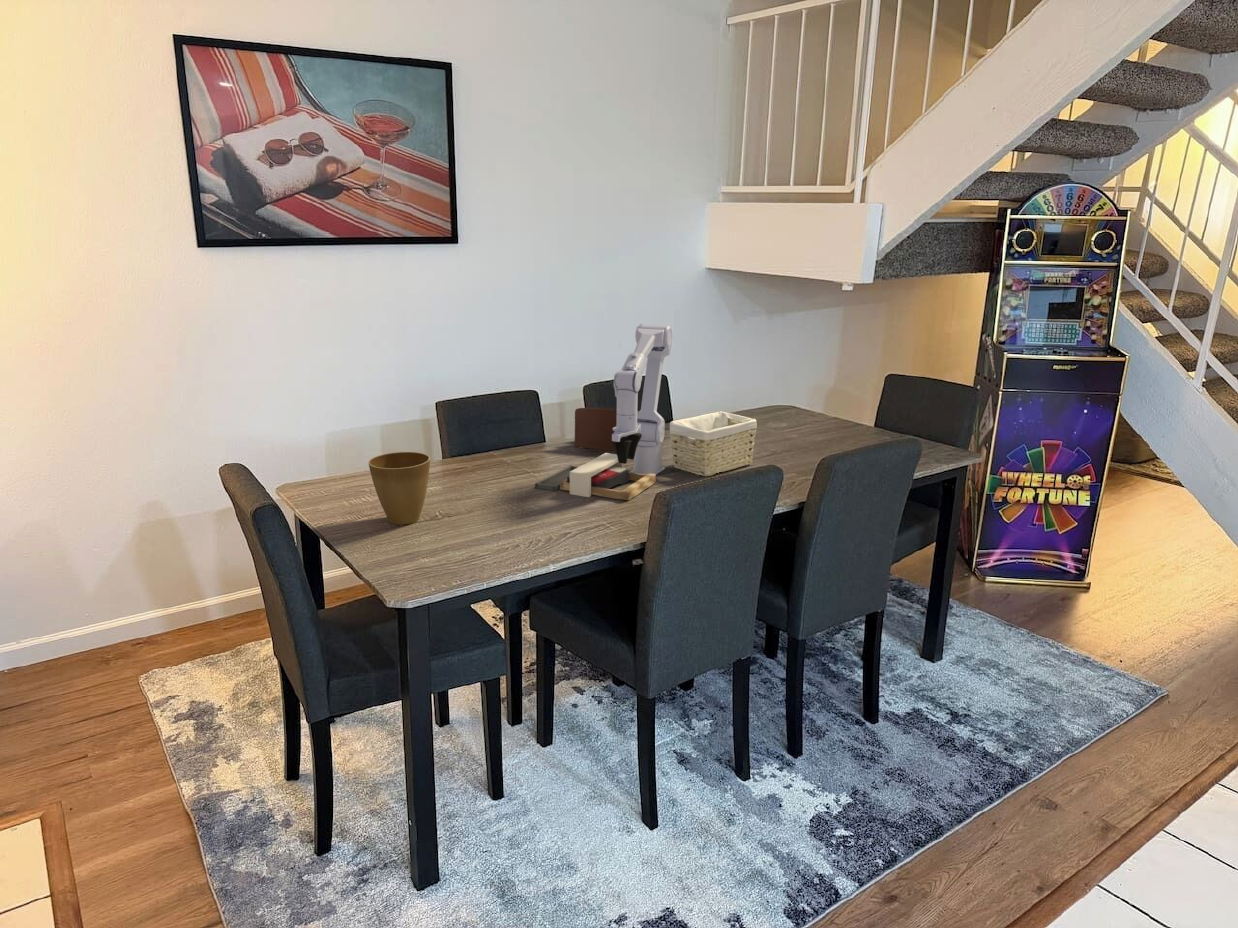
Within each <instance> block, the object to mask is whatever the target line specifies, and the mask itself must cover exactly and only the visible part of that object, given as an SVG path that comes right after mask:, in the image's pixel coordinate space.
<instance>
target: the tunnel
mask: <svg viewBox="0 0 1238 928" xmlns="http://www.w3.org/2000/svg"><path fill="white" fill-rule="evenodd" d="M624 465H625V464H623V463H619V461H618V457H617V453H609V452H605V453H603V454H601V455H599V456H597V457H595V458H593V459H591V460H589V461H588V462H586V463H583V464H582V465H580V466H578V465H577V466H576V465H572V464H571V465H569V466H567V467H565V468H563V469H561V470H559V471H556V472H555V473H552V474H551V475H549V476H547V477H545V478H542V480H539V481H537V482H535V483H534V488H535V489H543V490H547V491H549V490H550V491H555V492H556V491H558V490H559V489H560V482H562V481H564V480H566V479H567V477H569V475H570V491H569V494H570V495H571V496H573V495H574V496H577V497H585V498H590V497H591V496H592V494H591V477H592V476H594V475H596V474H597V473H599V472H601V471H603V470H605V469H606V468H608V467H610V466H616V467H621V468H625V466H624Z"/></svg>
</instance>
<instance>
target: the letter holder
mask: <svg viewBox="0 0 1238 928" xmlns="http://www.w3.org/2000/svg"><path fill="white" fill-rule="evenodd" d="M616 426H617V408H608V407H594V406H593V407H579V408H576V409H575V410H574V448H579V447H583V448H582V449H590V448H592V450H601V449H602V450H601V451H613V452H616V450H615V448H614V445H613V444H612V442H611V438H612V434H613V433H614V432H615V431H613V428H614V427H616Z"/></svg>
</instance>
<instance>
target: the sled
mask: <svg viewBox="0 0 1238 928" xmlns="http://www.w3.org/2000/svg"><path fill="white" fill-rule="evenodd" d="M628 481H635V482H633V483H631V484H630V485H629V486H627V487H626V488H624V489H623V490H616V489H611V488H609V489H606V488H600V487H593V486H591V496H592V495H593V496H600V497H606V498H611V499H617V500H624V501H631V500H632V499H633V498H635V497H636V496H638V495H639V494H640V493H642V492H644V491H645V490H646V489H648V488H649V487H651V486H653V485H654V484H656V483H657V474H651V473H649V474H648V475H646V474H640V473H633V472H629V471H628ZM559 489H560V490H563V491H569V492H570V483H568V480H567V479H566V480H564V481H562V482H560V488H559Z"/></svg>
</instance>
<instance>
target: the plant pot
mask: <svg viewBox="0 0 1238 928" xmlns="http://www.w3.org/2000/svg"><path fill="white" fill-rule="evenodd" d="M430 465H431V457H430V455H429V454H426V453H423V452H417V451H397V452H388V453H384V454H380V455H376V456H374V457H372V458H369V460H368V468H369V472H370V476H371V479H372V483H373V486H374V489H375V493H376V494H377V497H378V501H379V502H380V505H381V507H382V510H383V512H384V514H385V516H386V518H387V520H388V522H389V523H390V524H393V525H396V526H397V525H399V526H402V525H403V526H404V525H412V524H414V523H417V522H418V521H419V519H420V517H421V514H422V511H423V507H424V503H425V498H426V495H427V490H428V483H429V477H430V476H429V475H430Z"/></svg>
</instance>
